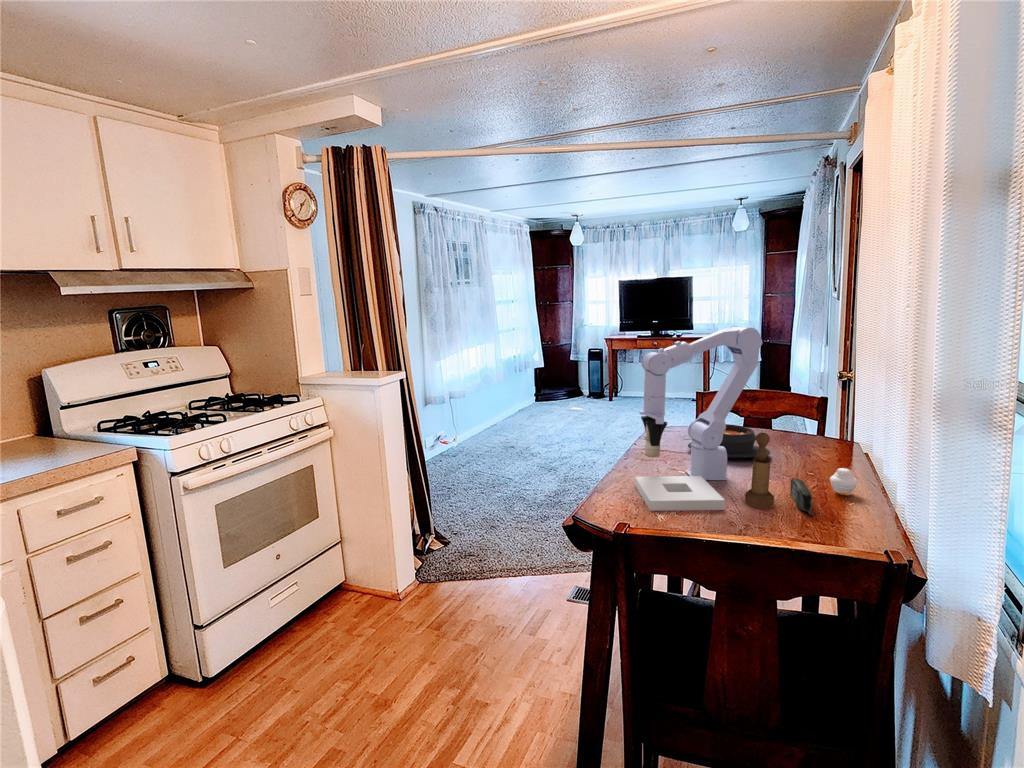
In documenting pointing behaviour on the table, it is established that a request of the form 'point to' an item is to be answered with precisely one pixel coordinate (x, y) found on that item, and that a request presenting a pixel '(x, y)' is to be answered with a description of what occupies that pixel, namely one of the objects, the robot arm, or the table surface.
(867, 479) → the table surface
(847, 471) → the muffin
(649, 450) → the peg
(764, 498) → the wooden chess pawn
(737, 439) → the casserole
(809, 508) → the dark grey oblong block
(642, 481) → the socket
